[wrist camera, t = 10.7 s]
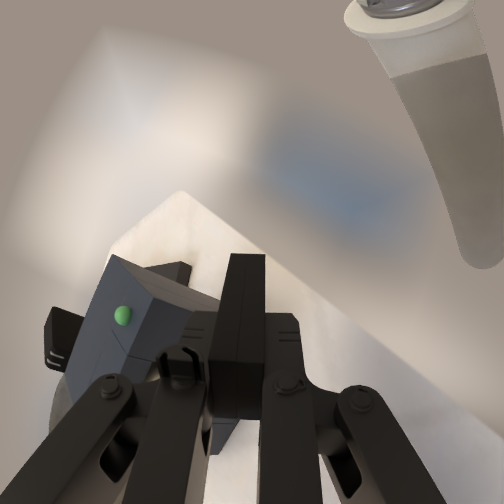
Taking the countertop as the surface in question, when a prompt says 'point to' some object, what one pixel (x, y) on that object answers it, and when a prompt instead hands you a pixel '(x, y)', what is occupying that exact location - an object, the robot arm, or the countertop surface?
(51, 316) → the electronic device
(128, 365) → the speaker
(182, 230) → the countertop surface
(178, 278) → the push button box
